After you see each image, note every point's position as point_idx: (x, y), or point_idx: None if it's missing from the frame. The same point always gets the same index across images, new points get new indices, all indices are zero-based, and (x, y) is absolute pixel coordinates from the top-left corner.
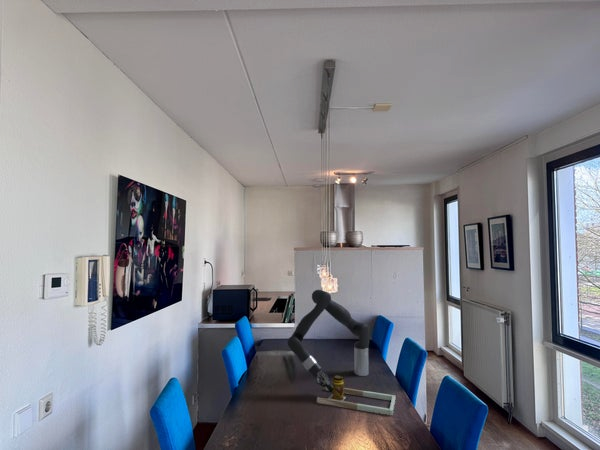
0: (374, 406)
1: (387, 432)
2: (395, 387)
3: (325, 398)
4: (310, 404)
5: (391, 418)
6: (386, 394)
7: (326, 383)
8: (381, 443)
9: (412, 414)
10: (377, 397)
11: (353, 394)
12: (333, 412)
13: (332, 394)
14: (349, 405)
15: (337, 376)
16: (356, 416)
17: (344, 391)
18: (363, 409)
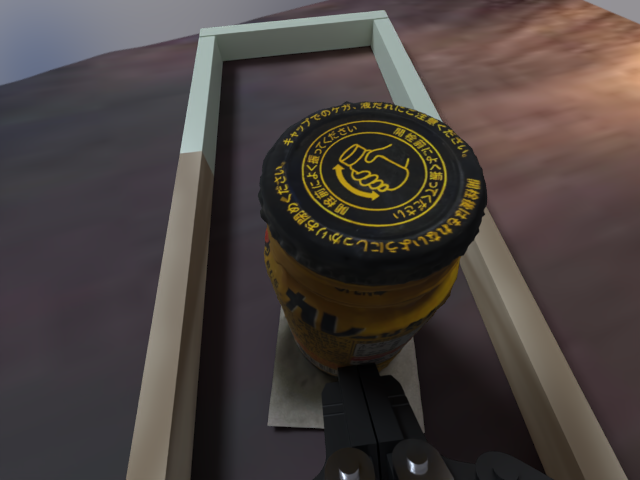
0: (394, 59)
1: (532, 25)
2: (33, 81)
3: (559, 403)
4: None
5: (407, 35)
6: (201, 53)
7: (508, 472)
8: (627, 22)
9: (323, 4)
10: (216, 104)
11: (208, 235)
12: (607, 262)
13: (287, 420)
14: None
15: (343, 193)
16: (515, 132)
17: (195, 306)
18: None
